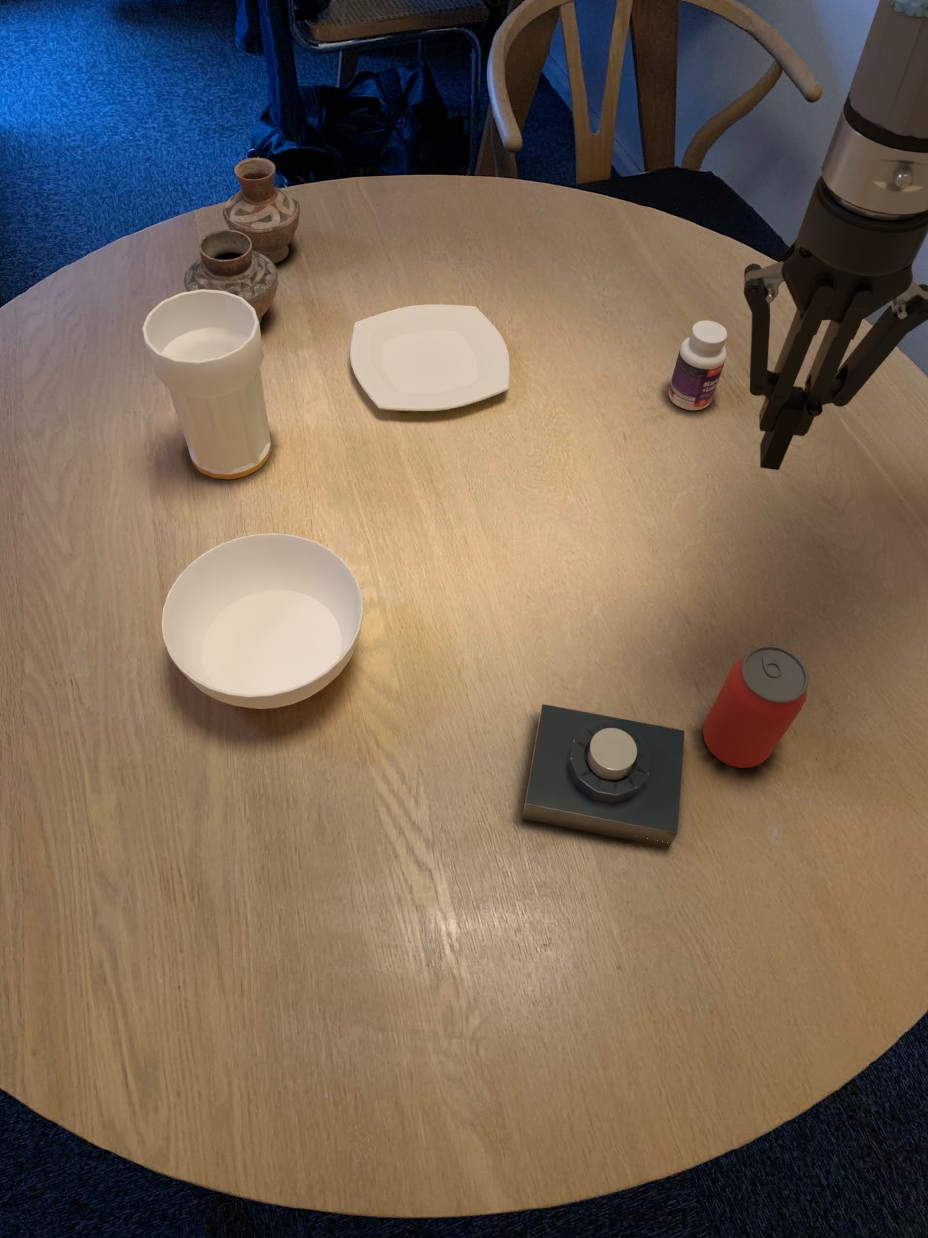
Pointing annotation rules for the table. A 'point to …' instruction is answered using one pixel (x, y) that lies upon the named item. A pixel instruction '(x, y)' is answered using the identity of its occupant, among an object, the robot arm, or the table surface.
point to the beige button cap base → (597, 804)
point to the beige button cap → (611, 754)
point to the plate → (429, 358)
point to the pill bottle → (699, 366)
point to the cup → (213, 378)
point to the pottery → (248, 239)
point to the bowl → (263, 620)
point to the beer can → (756, 706)
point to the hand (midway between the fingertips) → (769, 456)
